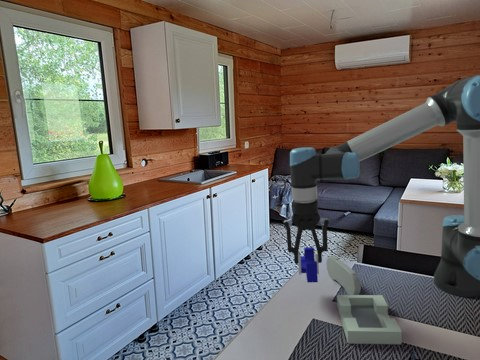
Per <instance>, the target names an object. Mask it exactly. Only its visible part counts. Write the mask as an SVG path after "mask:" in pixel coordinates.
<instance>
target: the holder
mask: <svg viewBox="0 0 480 360" xmlns="http://www.w3.org/2000/svg"><path fill="white" fill-rule="evenodd" d="M336 295H337V296H336V306H337V309H338V314H339V317H340V320H341V325H342V329H343V331H344V334H345V337H346V342H347V344H356V345H357V344H359V345H360V344H361V345H362V344H363V345H365V344H366V345H368V344H369V345H370V344H371V345H402V337H403V336H402V335H403V332H402V330H401V328H400V326H399V323H398V322H397V320H396V318H394V317H391V318H390V316H389V311H388V310H389V306H388V303H387V302H386V300H385V298H384V296H383V295H382V294H372V295H371V294H359V295H348V294H336Z"/></svg>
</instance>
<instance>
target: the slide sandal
mask: <svg viewBox="0 0 480 360" xmlns="http://www.w3.org/2000/svg"><path fill="white" fill-rule="evenodd" d="M325 265H326V271H327V273H328V276H329V277H330V279H331V280H332V281H336V282H337V283H338V284H339V285H340V286H342V288H343V289H344V290H345V292H346V295H361V294H360V293H361V291H362V290H361V289H362V287H361V281H360V278H359V276H358V274H357V273H356V271H355V270H353V269H352V268H351V267H350V266H348V265H347V264H346V263H345V262H344V261H342V259H340V258H339V257H337V256H336V255H332V254H331V255H330V256H328V257H327V259H326V264H325Z"/></svg>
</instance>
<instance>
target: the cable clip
mask: <svg viewBox="0 0 480 360" xmlns="http://www.w3.org/2000/svg"><path fill="white" fill-rule="evenodd" d="M303 249H304V253H303V254H304V256H301V274H306V282H307V283H318V281H319V279H318V274H317V262H316V261H315V248H314V246H309V247H303Z"/></svg>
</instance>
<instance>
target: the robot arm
mask: <svg viewBox="0 0 480 360" xmlns="http://www.w3.org/2000/svg"><path fill="white" fill-rule="evenodd" d="M455 122H456V131H457V132H458V133H459V134H461V136H463V138H462V139H463V140H462V141H463V143H462V144H463V147H462V149H463V214H453V215H447V216H445V217H444V218H443V221H442V225H441V227H442V232H441V233H442V235H441V237H442V238H441V257H440V261H439V263H438V265H437V268H436V270H435V272H434V274H433V283H434V285H435V286H436V287H437V288H439V289H440V290H441V291H443V292H446V293H448V294H451V295H455V296H458V297H464V298H480V74H476V75H473V76H467V77H464V78H460V79H459V80H457V81H455V82H454V83H452V84H450V85H448V86H447V87H445V88H444V89H441V90H440V91H438V92H436V93H435V94H433V95H431V96H428V97H427V99H426V101H425V102H424V103H422V104H420V105H418V106H416V107H413V108H412V109H410V110H408V111H406V112H405V113H402V114H400V115H398V116H396V117H394V118H392V119H390V120H388V121H386V122H384V123H381V124H380V125H378V126H376V127H374V128H371V129H369V130H367V131H365V132H363V133H361V134H359V135H358V136H355V137H353V138H352V139H350V140H347V141H345V142H343V143H341V144H340V145H336V146H332V147H330V148H329V149H328V150H327V151H326V152H325V153H323V154H322V153H320V154H319V153H317V151H316V149H315V148H314V147H311V146H310V147H297V148H296V147H295V148H293V149H291V151H289V170H290V171H289V172H290V173H289V174H290V182H291V183H290V188H291V199H292V200H293V201H292V203H291V204H292V215H291V218H289V219H284V220H283V226H284V228H285V230H286V241H287V242H286V243H287V252H288V253H292V254H293V259H294V260H293V261H294V264H297V265H298V275H302V273H301V251H300V244H301V238H302V234H303V231H311V233H312V234H311V235H312V238H313V241H314V244H315V247H316V248H315V249H316V250H314V258H315V261H316V262H317V275H319V274H320V273H319V272H320V271H319V270H320V269H319V267H320V266H319V263H320V264H321V263H322V261H323V257H322V254H323V252H327V251H328V226H329V223H330V221H329V218H327V217H321V216H320V215H319V201H318V181H323V180H351V179H357V178H359V176H360V173H361V172H360V170H361V169H360V168H361V165H360V162H361V161H364V160H366V159H369V158H370V157H373V156H375V155H376V154H379V153H381V152H383V151H386V150H388V149H389V148H391V147H394V146H396V145H398V144H401V143H402V142H405V141H407V140H409V139H411V138H413V137H416V136H418V135H420V134H422V133H424V132H426V131H428V130H430V129H433V128H435V127H437V126H439V127H446V126H447V125H449V124H452V123H455ZM319 222H320V225H321V237H322V240H321V241H322V245H320V240H319V238H318V234H317V231H316V227H317V225H318V223H319ZM293 224H294V225H295V226H296V227H297V231H296V235H295V241H294V247H293V246H292V233H291V231H292V230H291V227H293Z"/></svg>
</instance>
